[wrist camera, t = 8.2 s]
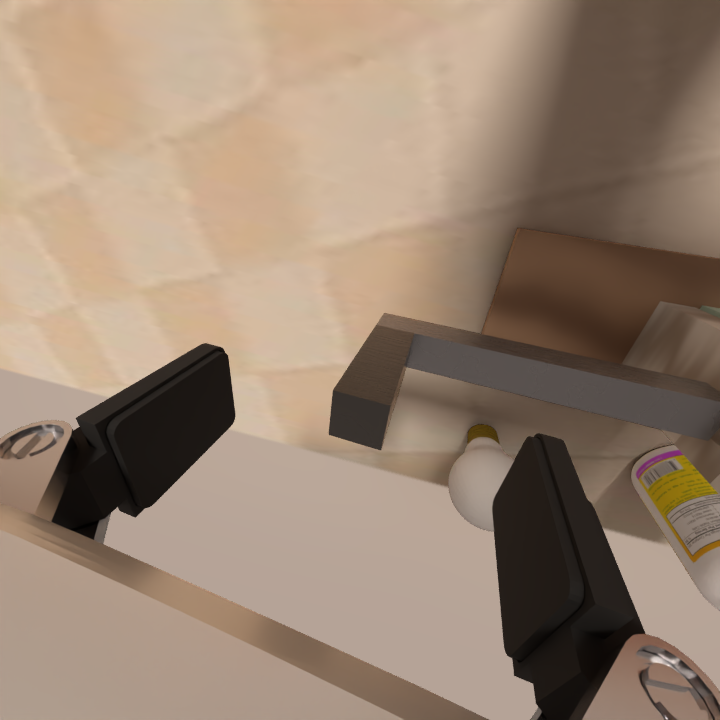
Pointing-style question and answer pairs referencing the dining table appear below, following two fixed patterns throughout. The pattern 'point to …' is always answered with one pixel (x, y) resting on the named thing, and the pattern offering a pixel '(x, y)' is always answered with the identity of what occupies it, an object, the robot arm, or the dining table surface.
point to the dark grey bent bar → (510, 381)
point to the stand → (616, 312)
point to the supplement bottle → (683, 514)
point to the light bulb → (479, 476)
